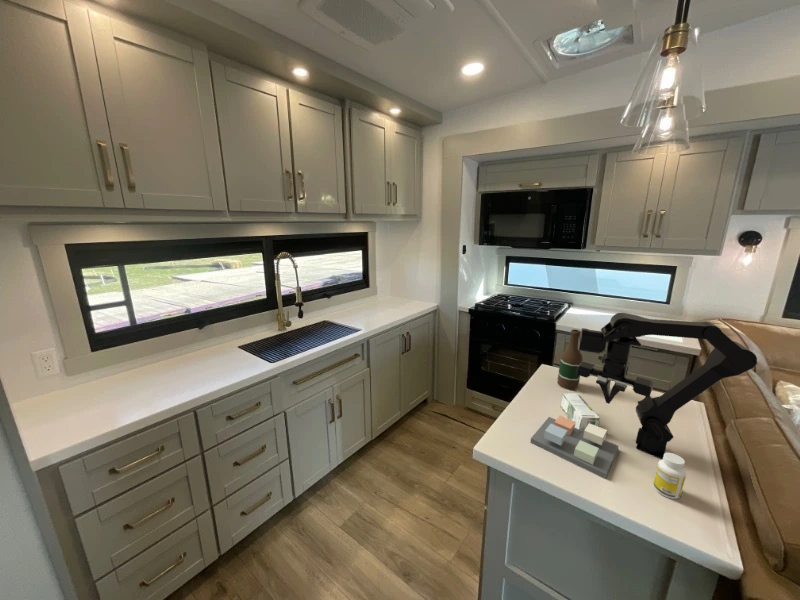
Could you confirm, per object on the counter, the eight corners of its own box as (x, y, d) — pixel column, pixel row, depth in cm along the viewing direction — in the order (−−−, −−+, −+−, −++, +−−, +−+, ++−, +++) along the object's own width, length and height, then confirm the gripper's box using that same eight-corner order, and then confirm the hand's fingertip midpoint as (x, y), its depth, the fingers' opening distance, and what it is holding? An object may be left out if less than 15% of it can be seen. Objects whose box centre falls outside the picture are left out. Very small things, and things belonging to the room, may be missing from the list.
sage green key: (597, 455, 90) (598, 448, 89) (592, 464, 87) (594, 457, 86) (578, 447, 93) (580, 440, 93) (573, 455, 90) (575, 448, 89)
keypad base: (617, 449, 95) (618, 445, 94) (605, 478, 84) (606, 474, 84) (548, 420, 108) (549, 416, 108) (530, 442, 98) (530, 438, 97)
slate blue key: (566, 437, 95) (567, 430, 95) (560, 445, 92) (562, 438, 91) (549, 430, 99) (550, 423, 98) (543, 437, 95) (544, 430, 95)
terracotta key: (574, 428, 102) (575, 421, 101) (569, 435, 98) (570, 428, 98) (558, 421, 105) (559, 415, 104) (553, 428, 101) (554, 421, 101)
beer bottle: (552, 382, 133) (560, 328, 127) (566, 379, 135) (575, 326, 129) (568, 392, 126) (577, 335, 120) (582, 388, 128) (592, 332, 122)
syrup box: (575, 407, 116) (598, 433, 102) (559, 406, 116) (579, 432, 102) (578, 393, 114) (601, 417, 100) (561, 392, 115) (582, 417, 101)
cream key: (605, 437, 96) (606, 430, 95) (601, 445, 92) (602, 438, 92) (587, 430, 99) (589, 423, 98) (583, 437, 95) (584, 430, 95)
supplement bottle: (667, 481, 83) (675, 450, 81) (686, 499, 78) (695, 466, 76) (647, 482, 83) (655, 450, 81) (664, 500, 78) (673, 466, 76)
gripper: (660, 357, 93) (649, 404, 97) (589, 340, 105) (582, 382, 109) (655, 369, 85) (643, 420, 89) (579, 349, 98) (571, 395, 102)
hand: (607, 402), depth 97 cm, fingers closed
